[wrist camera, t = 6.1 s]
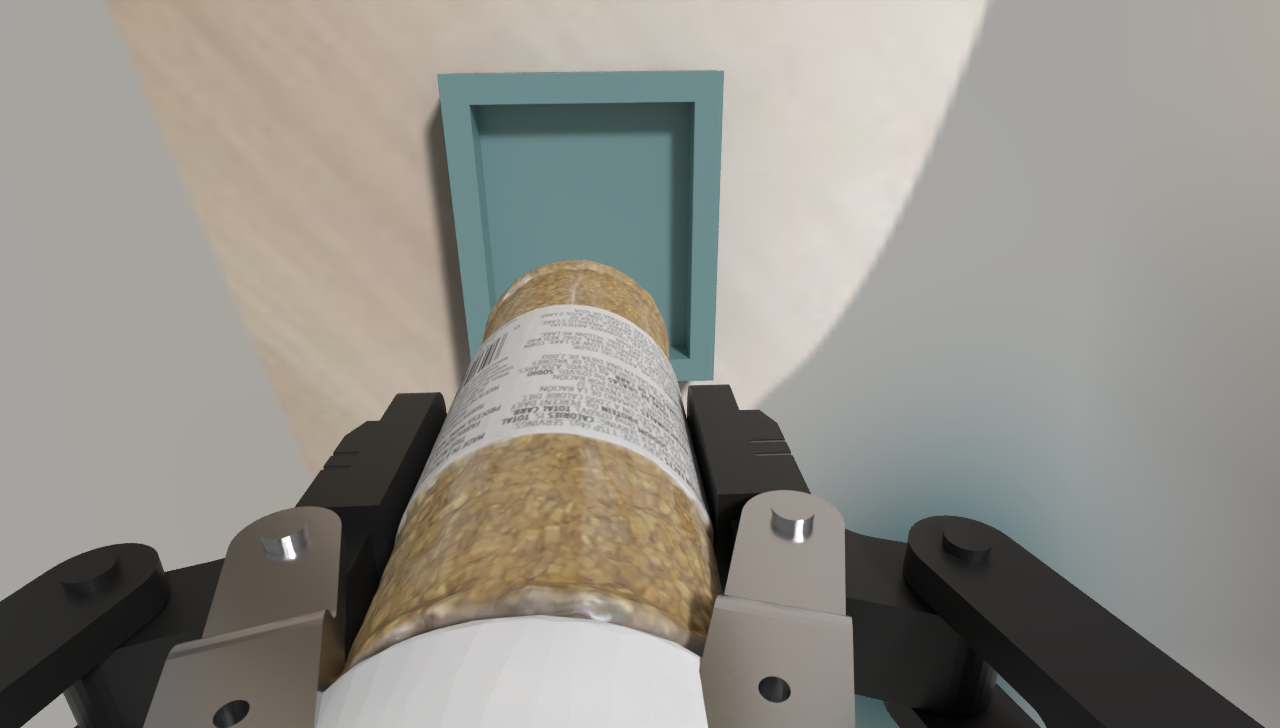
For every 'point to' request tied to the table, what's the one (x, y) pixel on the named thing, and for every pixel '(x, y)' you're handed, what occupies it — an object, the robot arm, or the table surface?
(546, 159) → the tray
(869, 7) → the table surface
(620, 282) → the sprinkles bottle
